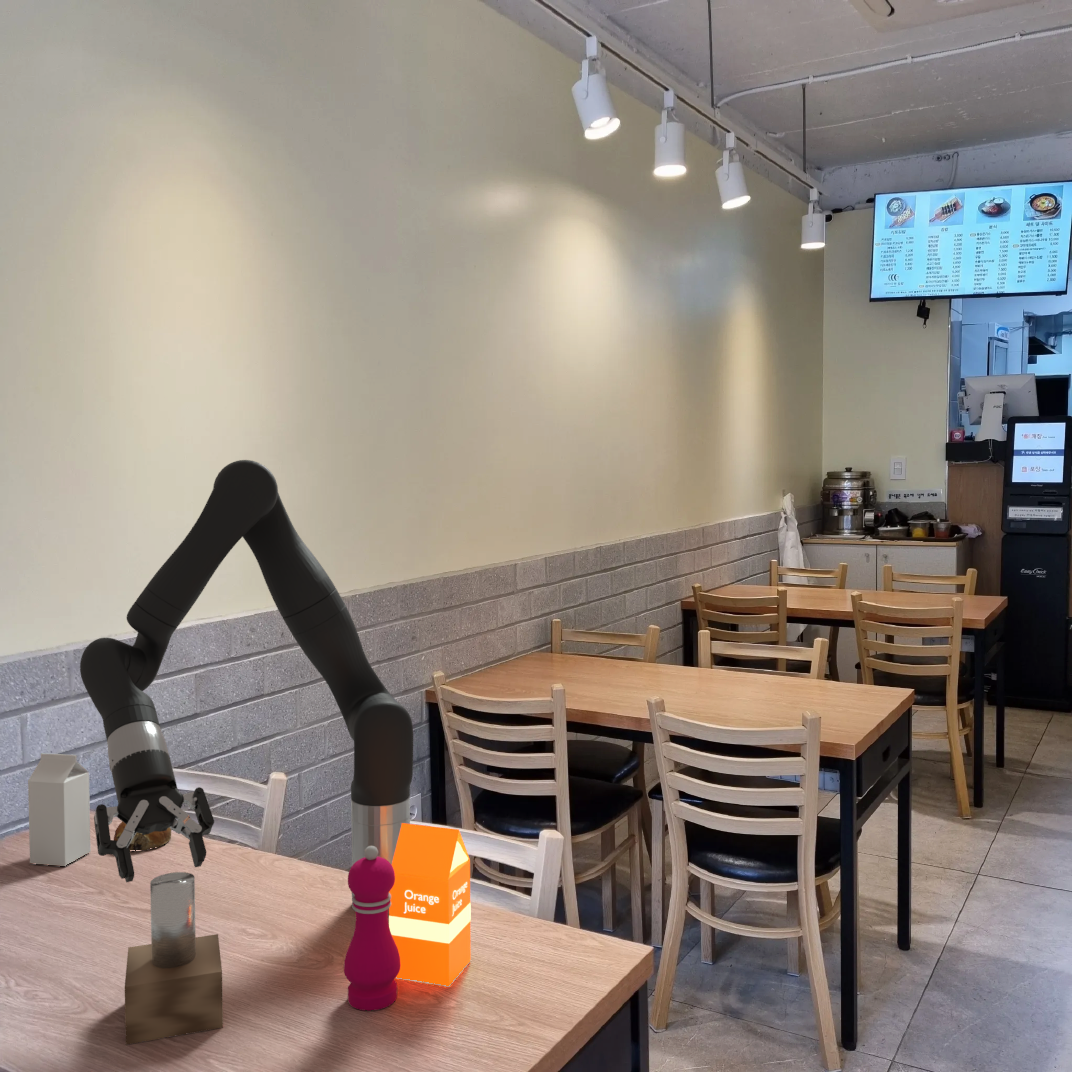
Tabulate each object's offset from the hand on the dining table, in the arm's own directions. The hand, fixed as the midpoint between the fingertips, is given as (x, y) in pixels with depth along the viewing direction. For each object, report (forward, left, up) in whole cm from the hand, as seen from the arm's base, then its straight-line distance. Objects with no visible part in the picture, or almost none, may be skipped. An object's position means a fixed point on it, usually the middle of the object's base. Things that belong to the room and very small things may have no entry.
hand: (165, 871), depth 127 cm
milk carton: (+18, -61, -17) cm, 66 cm away
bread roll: (+5, -64, -17) cm, 67 cm away
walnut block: (-1, +3, -17) cm, 17 cm away
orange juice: (-34, +3, -17) cm, 38 cm away
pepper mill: (-25, +8, -17) cm, 31 cm away
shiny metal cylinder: (-1, +3, -10) cm, 11 cm away
